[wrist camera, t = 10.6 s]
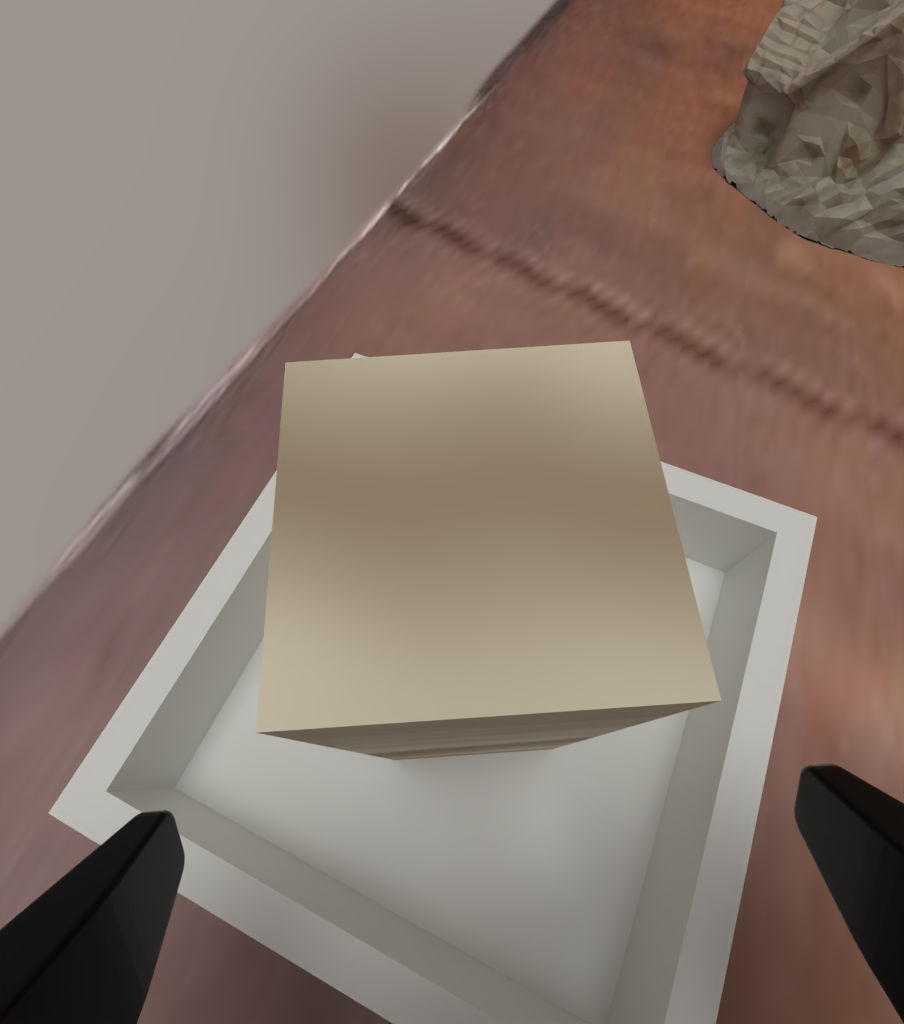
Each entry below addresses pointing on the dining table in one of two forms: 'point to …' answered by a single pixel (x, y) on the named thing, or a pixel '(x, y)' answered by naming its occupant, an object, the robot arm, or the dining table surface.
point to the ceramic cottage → (826, 125)
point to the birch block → (474, 556)
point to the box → (472, 808)
